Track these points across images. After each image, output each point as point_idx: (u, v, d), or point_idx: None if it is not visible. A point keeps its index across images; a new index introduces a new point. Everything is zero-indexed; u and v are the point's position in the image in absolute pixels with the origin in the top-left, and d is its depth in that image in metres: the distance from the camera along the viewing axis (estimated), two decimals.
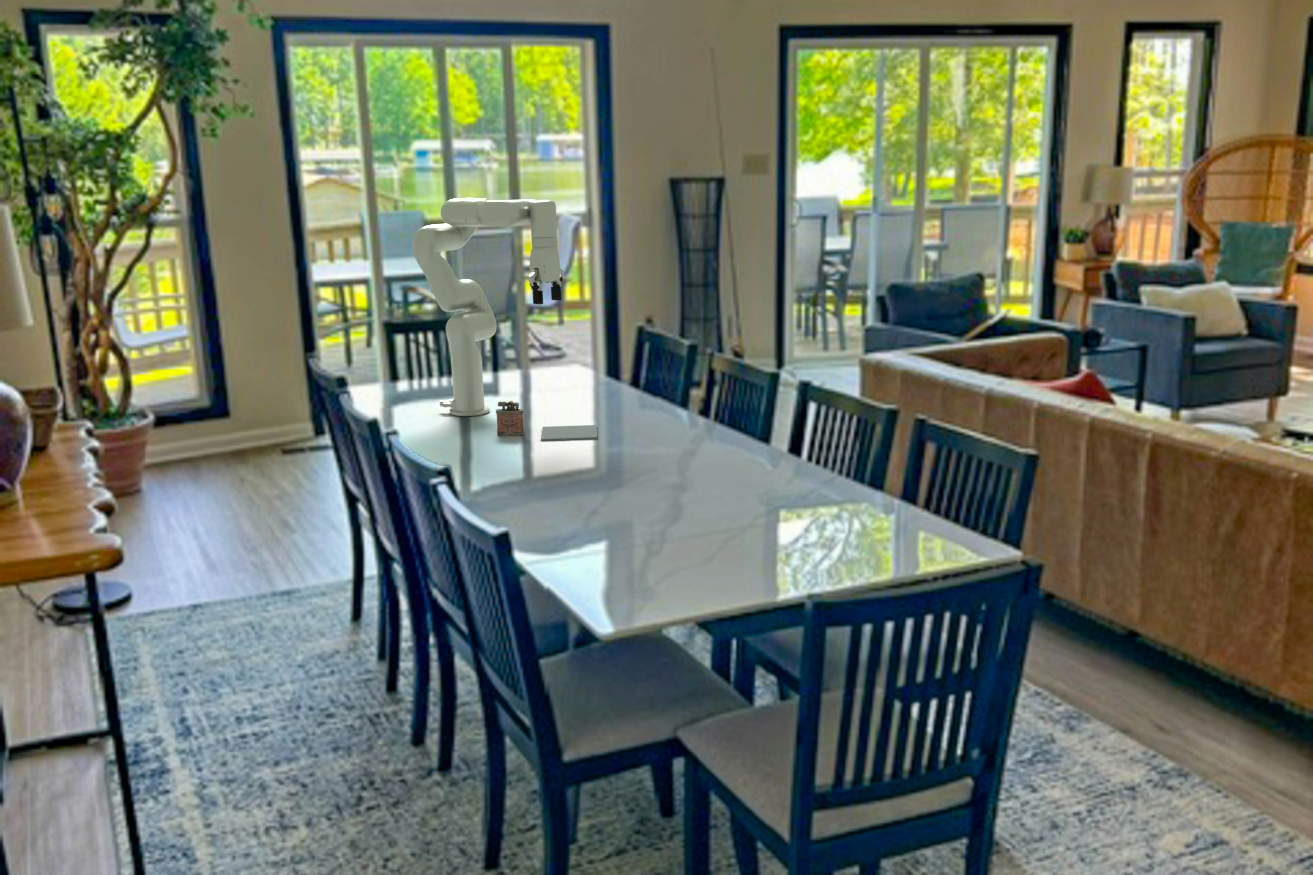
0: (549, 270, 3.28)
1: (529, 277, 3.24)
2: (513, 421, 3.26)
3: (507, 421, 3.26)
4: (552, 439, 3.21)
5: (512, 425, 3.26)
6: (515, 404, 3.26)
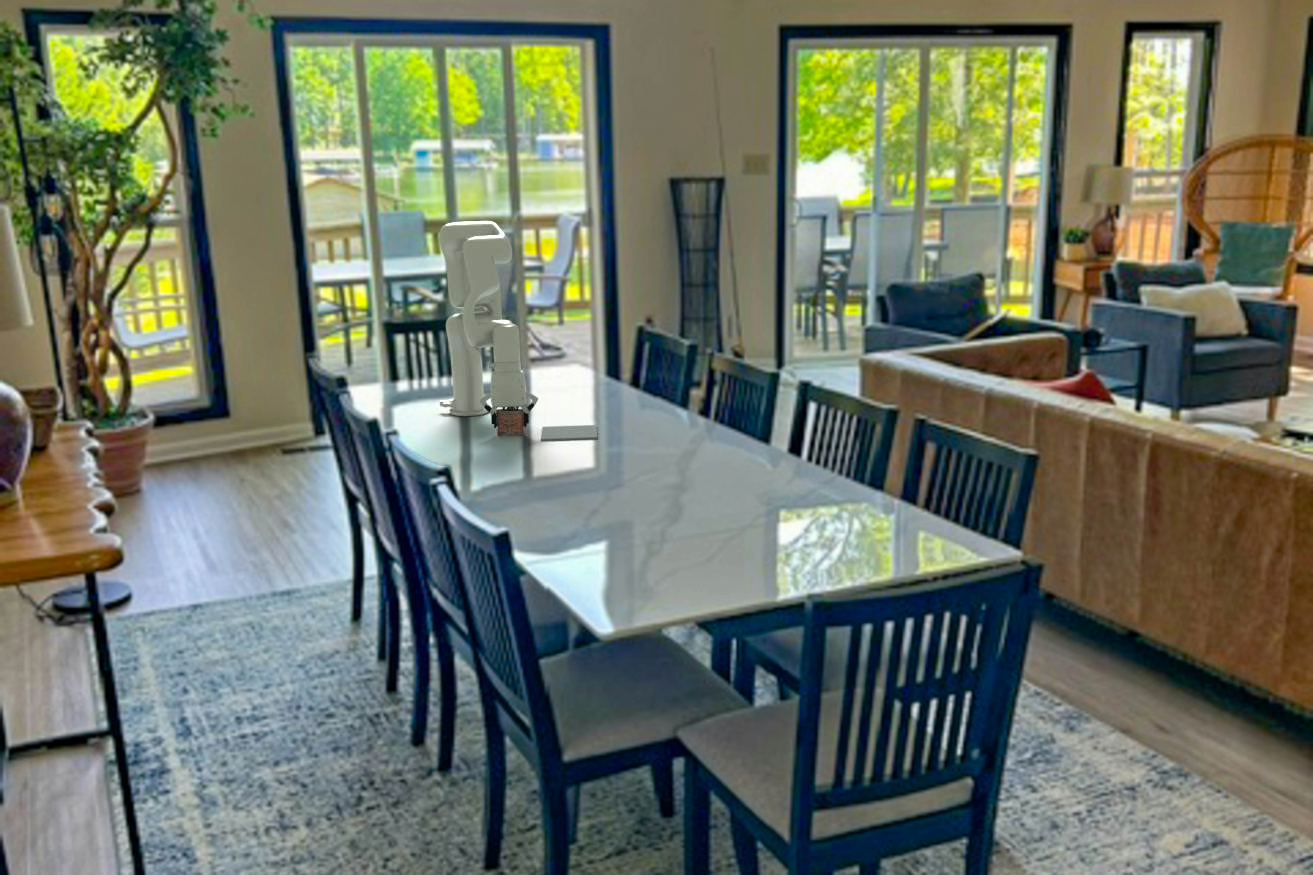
0: None
1: (537, 398, 3.26)
2: (513, 421, 3.26)
3: (507, 421, 3.26)
4: (552, 439, 3.21)
5: (512, 425, 3.26)
6: None
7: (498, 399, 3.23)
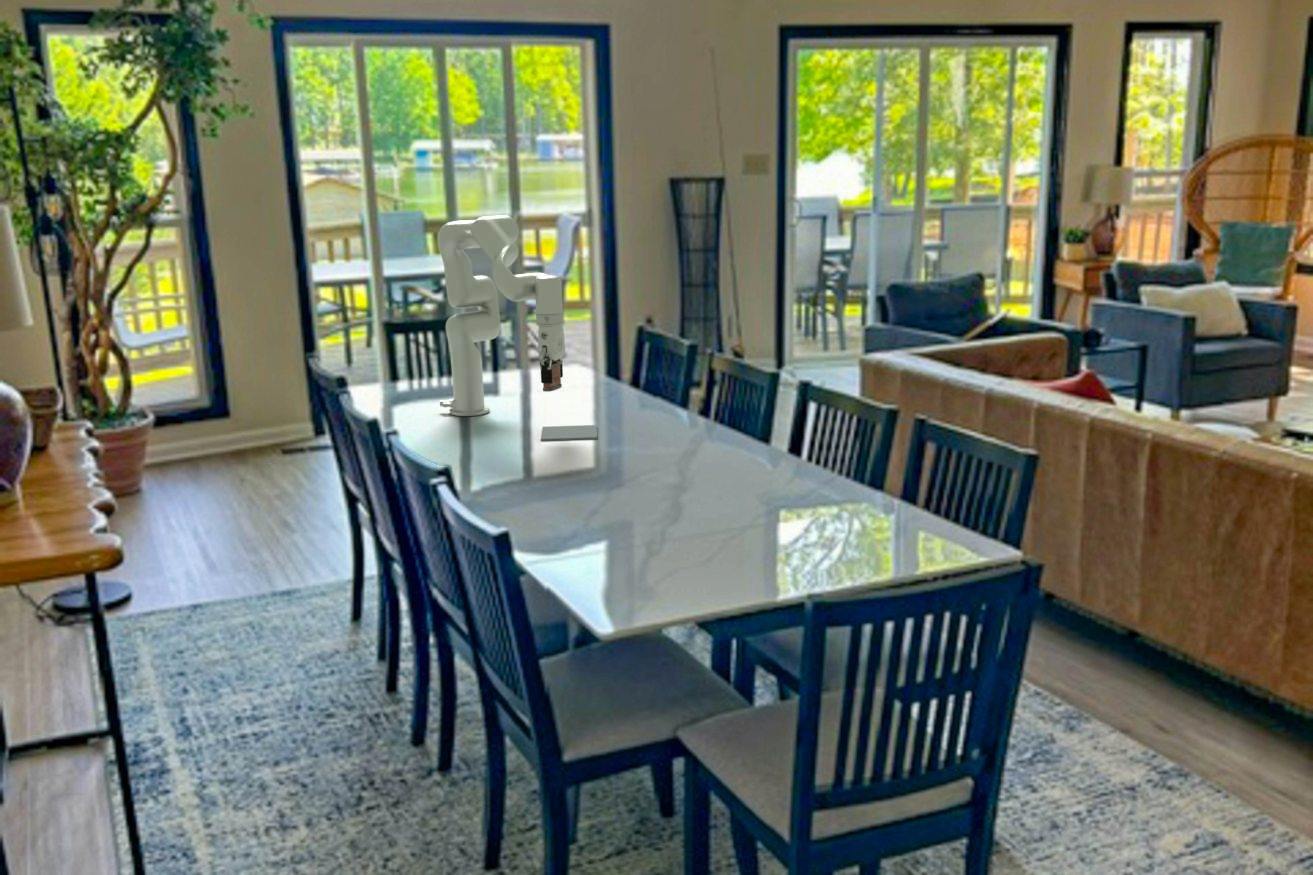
0: None
1: None
2: (558, 373, 3.25)
3: (555, 374, 3.23)
4: (552, 439, 3.21)
5: (557, 377, 3.25)
6: None
7: (556, 352, 3.19)
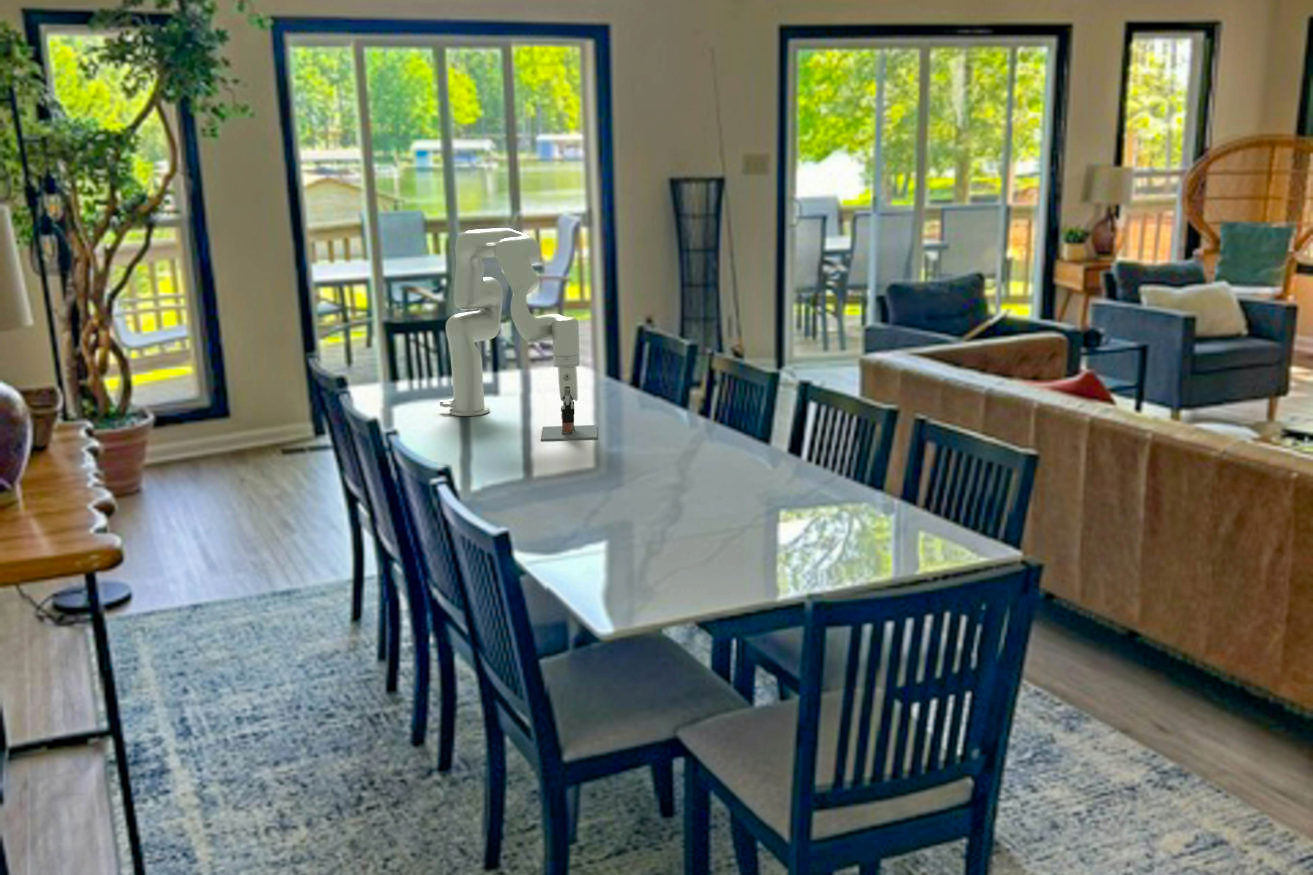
0: None
1: None
2: None
3: None
4: (552, 439, 3.21)
5: None
6: None
7: (577, 392, 3.23)
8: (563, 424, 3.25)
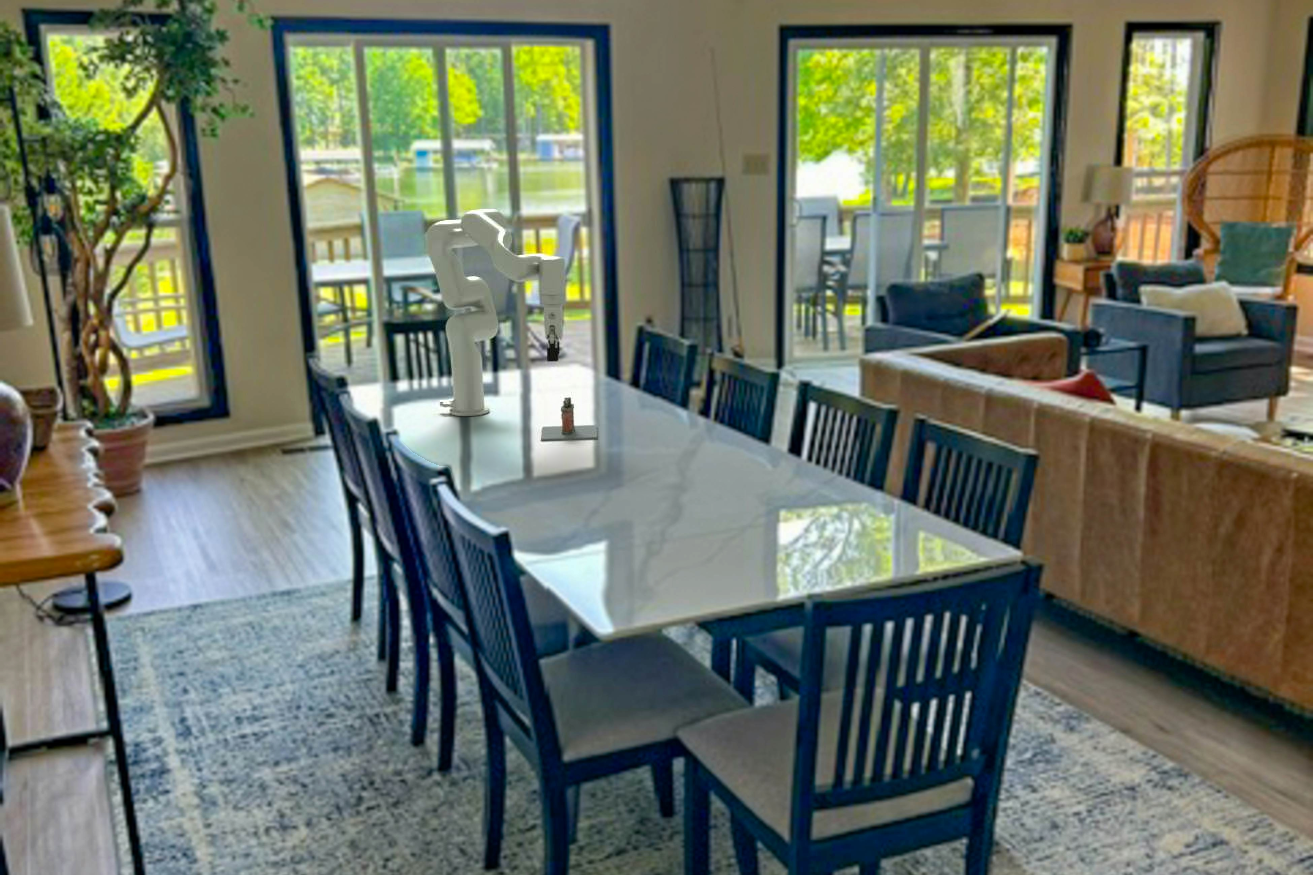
0: None
1: None
2: (573, 416, 3.29)
3: (572, 417, 3.27)
4: (552, 439, 3.21)
5: (573, 420, 3.29)
6: None
7: (562, 331, 3.27)
8: (563, 424, 3.25)
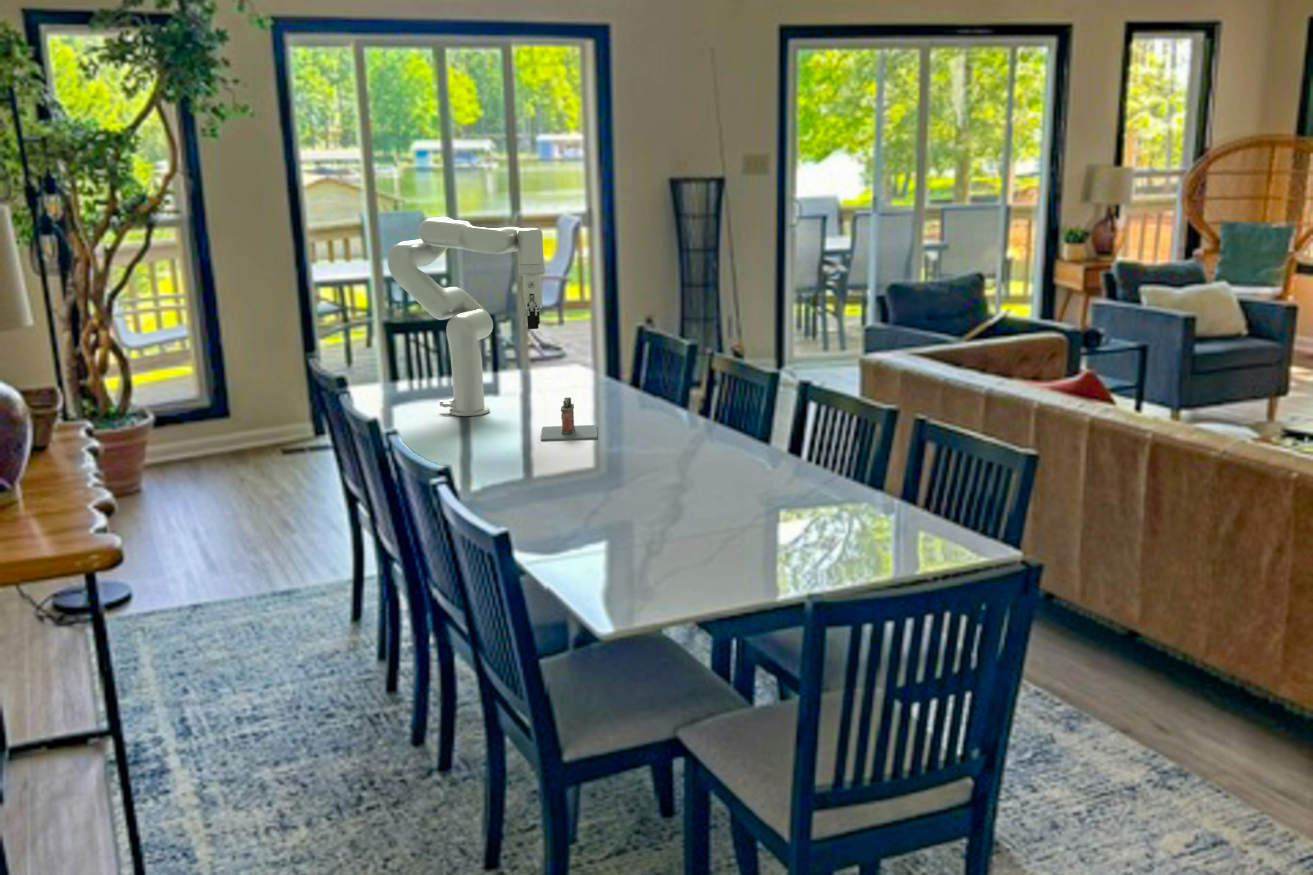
0: None
1: None
2: (573, 416, 3.29)
3: (572, 417, 3.27)
4: (552, 439, 3.21)
5: (573, 420, 3.29)
6: None
7: (541, 300, 3.39)
8: (563, 424, 3.25)
